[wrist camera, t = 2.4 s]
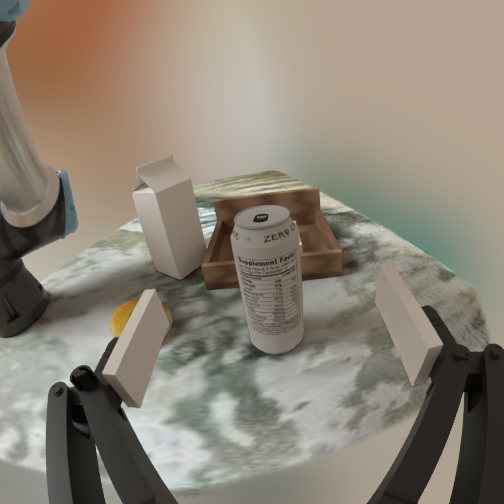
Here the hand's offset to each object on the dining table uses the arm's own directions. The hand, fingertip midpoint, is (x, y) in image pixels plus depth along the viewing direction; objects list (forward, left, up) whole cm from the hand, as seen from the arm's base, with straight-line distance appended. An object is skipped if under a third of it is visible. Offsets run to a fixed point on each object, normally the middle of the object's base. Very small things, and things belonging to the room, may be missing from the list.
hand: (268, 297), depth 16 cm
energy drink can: (0, +10, -14) cm, 17 cm away
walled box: (0, +30, -14) cm, 33 cm away
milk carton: (-16, +29, -14) cm, 36 cm away
